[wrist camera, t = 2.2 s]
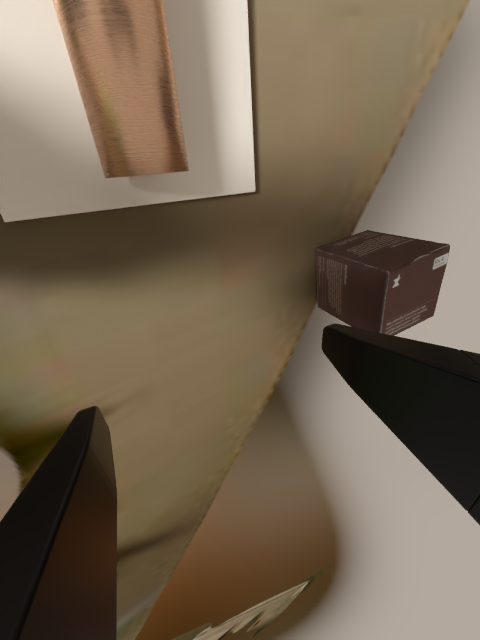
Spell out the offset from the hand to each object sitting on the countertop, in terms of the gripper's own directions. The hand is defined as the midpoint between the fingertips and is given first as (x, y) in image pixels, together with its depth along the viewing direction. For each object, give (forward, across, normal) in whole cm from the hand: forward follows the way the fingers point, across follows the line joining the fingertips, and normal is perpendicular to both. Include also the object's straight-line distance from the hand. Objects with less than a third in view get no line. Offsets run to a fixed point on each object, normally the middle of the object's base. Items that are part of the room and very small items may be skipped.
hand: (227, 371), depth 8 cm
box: (+12, -16, +4) cm, 21 cm away
